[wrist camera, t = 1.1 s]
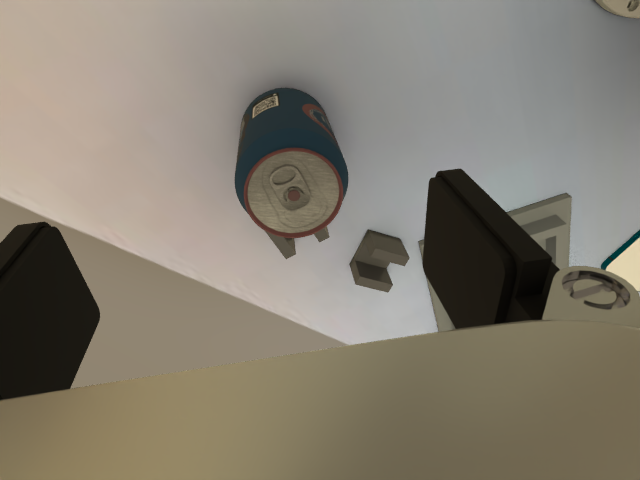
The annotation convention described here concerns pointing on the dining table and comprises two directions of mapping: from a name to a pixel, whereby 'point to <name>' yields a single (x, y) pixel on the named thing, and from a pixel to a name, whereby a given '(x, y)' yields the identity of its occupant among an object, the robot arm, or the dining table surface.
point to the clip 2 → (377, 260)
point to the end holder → (543, 226)
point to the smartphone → (626, 261)
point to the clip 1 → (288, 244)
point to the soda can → (289, 165)
